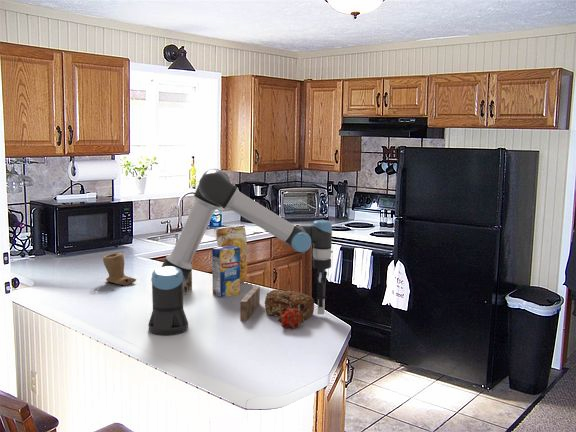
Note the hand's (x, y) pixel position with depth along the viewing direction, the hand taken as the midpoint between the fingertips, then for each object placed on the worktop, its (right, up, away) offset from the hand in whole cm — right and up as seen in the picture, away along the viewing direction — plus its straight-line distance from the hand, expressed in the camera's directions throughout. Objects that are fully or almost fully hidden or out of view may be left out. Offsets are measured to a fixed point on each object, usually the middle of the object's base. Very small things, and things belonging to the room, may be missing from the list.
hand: (320, 313), depth 257 cm
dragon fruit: (-12, -3, -14) cm, 19 cm away
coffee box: (-63, +4, +36) cm, 73 cm away
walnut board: (-30, 0, +6) cm, 30 cm away
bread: (-13, -1, +2) cm, 13 cm away
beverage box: (-43, +4, +33) cm, 54 cm away
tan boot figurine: (-98, +7, +51) cm, 111 cm away
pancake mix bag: (-42, +7, +55) cm, 69 cm away
